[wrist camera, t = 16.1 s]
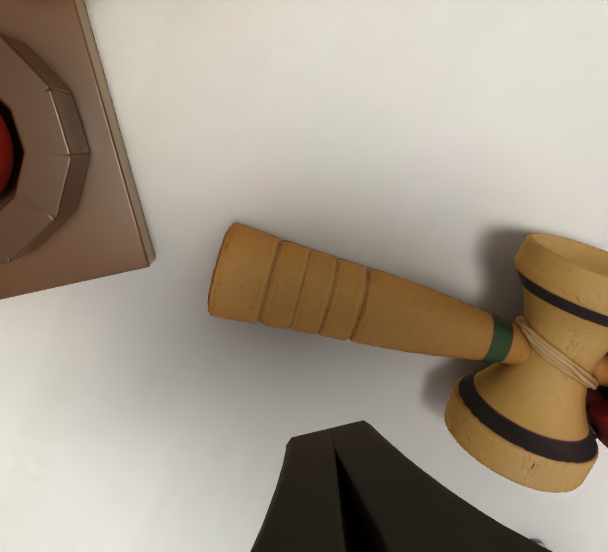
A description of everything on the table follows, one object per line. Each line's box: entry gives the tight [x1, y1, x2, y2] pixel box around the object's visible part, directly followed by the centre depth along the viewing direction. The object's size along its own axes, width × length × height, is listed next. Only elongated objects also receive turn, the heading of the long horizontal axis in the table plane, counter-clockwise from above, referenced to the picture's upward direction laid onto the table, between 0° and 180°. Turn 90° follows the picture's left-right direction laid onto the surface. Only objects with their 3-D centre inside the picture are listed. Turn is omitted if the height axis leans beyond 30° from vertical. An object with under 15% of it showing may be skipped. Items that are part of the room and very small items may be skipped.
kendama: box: [208, 223, 608, 493], centre depth 18 cm, size 8×6×18 cm
